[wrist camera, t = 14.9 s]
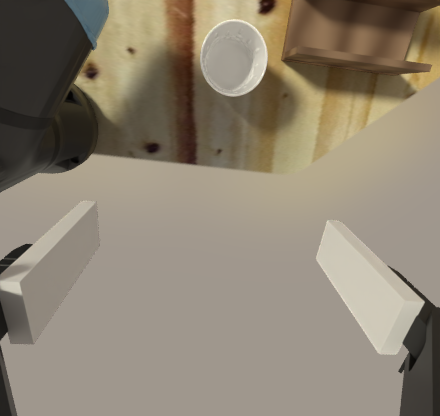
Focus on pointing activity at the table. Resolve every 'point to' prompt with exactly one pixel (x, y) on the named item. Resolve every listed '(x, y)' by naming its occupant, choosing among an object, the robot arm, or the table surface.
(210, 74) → the white cup
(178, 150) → the table surface
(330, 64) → the slot rack
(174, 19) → the table surface
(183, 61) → the table surface
